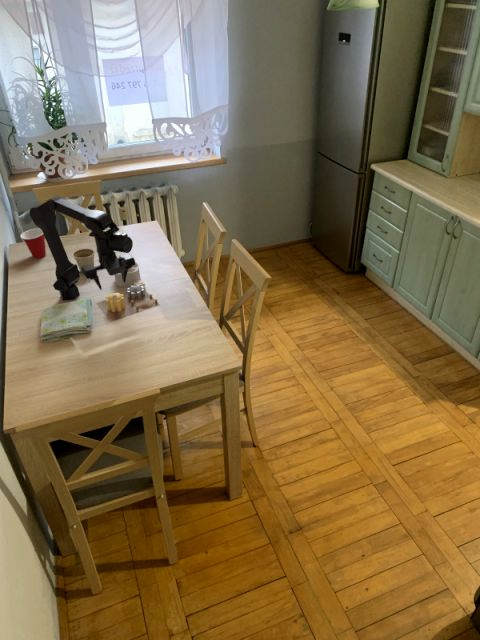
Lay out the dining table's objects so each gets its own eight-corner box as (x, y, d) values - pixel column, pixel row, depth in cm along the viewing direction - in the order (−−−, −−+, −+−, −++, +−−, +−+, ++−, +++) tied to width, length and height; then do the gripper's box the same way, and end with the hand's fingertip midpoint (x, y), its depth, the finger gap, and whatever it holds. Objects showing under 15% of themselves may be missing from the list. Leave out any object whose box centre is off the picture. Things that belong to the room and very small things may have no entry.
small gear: (139, 292, 190) (138, 285, 189) (131, 288, 192) (131, 282, 191) (147, 288, 193) (147, 282, 192) (140, 285, 196) (139, 279, 194)
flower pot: (95, 275, 204) (91, 257, 199) (73, 275, 204) (69, 258, 200) (100, 265, 212) (97, 248, 207) (80, 265, 212) (76, 248, 207)
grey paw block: (117, 290, 193) (114, 272, 188) (114, 276, 203) (110, 258, 199) (142, 286, 196) (139, 268, 191) (138, 272, 206) (135, 254, 201)
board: (111, 324, 173) (110, 318, 171) (96, 305, 184) (95, 300, 182) (160, 307, 182) (159, 301, 180) (143, 290, 193) (142, 285, 191)
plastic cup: (26, 253, 223) (18, 230, 217) (49, 249, 227) (43, 226, 220) (27, 263, 215) (20, 239, 208) (52, 258, 219) (45, 234, 212)
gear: (132, 301, 184) (130, 293, 181) (125, 294, 188) (124, 286, 186) (147, 296, 187) (146, 288, 185) (140, 289, 191) (139, 281, 189)
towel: (41, 345, 164) (37, 333, 161) (45, 313, 181) (41, 302, 178) (94, 336, 167) (91, 325, 164) (93, 306, 184) (90, 295, 181)
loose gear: (111, 314, 176) (109, 301, 173) (105, 306, 181) (102, 294, 178) (128, 308, 179) (126, 296, 176) (121, 301, 184) (119, 288, 181)
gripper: (87, 263, 156) (96, 302, 165) (138, 249, 165) (144, 287, 173) (76, 251, 164) (85, 289, 172) (126, 238, 172) (132, 275, 181)
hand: (112, 285), depth 175 cm, fingers open, 9 cm apart
